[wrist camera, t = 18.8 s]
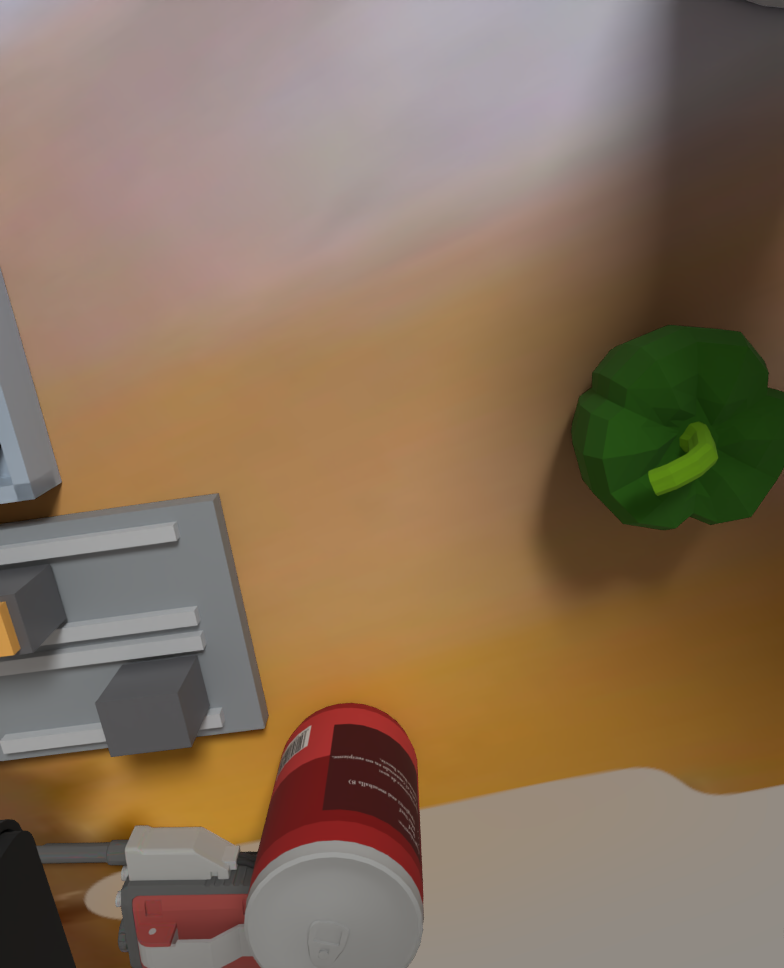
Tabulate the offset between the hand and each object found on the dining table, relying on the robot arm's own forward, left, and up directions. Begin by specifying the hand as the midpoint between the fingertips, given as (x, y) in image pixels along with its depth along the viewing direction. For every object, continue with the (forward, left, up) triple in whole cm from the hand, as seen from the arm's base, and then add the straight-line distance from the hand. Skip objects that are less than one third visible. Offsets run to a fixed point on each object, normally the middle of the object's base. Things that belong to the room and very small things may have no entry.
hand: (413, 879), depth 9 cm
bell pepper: (+1, +11, -28) cm, 30 cm away
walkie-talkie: (+26, -17, -28) cm, 42 cm away
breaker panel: (+9, -18, -28) cm, 34 cm away
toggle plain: (+12, -14, -26) cm, 32 cm away
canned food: (+19, -6, -28) cm, 34 cm away
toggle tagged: (+6, -20, -26) cm, 33 cm away
